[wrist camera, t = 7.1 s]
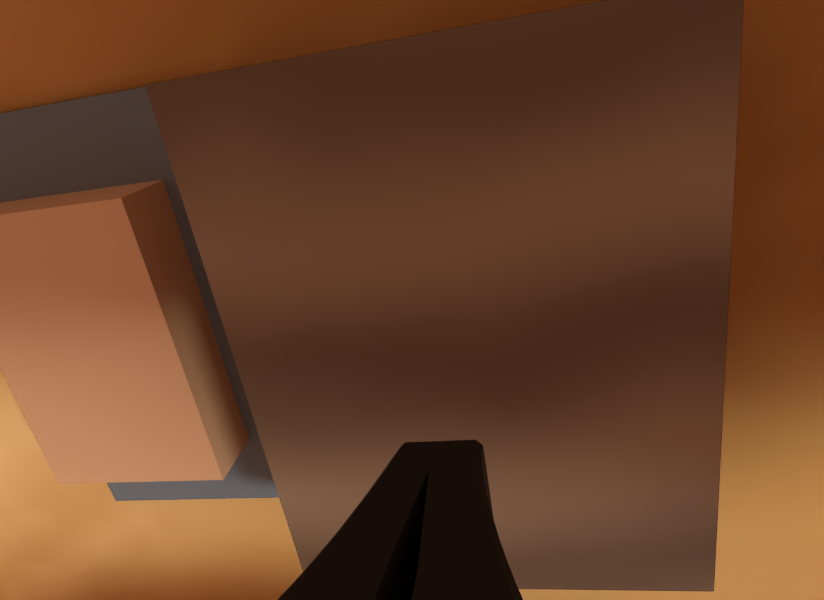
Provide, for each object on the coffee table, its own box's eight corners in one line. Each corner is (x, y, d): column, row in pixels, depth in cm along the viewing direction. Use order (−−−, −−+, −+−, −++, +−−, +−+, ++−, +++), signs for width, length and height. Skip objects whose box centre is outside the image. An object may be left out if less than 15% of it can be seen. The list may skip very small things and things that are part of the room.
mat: (342, 490, 21) (340, 496, 21) (120, 495, 23) (115, 500, 22) (230, 71, 15) (225, 71, 15) (-51, 123, 17) (-60, 124, 17)
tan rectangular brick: (58, 484, 20) (96, 445, 21) (223, 479, 18) (248, 439, 20) (-73, 224, 16) (-14, 204, 18) (121, 198, 15) (163, 179, 17)
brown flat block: (675, 482, 19) (713, 591, 15) (342, 490, 21) (308, 586, 17) (681, -12, 13) (744, -25, 10) (230, 71, 15) (144, 85, 12)
